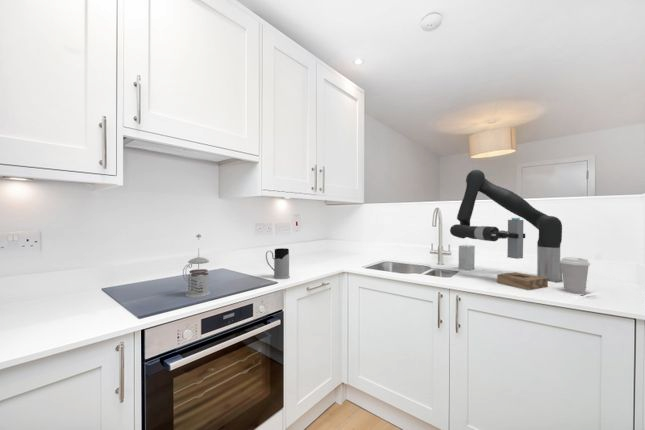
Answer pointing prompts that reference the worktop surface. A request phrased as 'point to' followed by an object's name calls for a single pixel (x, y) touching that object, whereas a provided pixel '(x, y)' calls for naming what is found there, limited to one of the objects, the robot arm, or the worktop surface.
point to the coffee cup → (575, 274)
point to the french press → (197, 278)
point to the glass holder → (280, 263)
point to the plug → (515, 244)
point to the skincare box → (466, 257)
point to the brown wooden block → (522, 280)
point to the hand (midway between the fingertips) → (521, 236)
